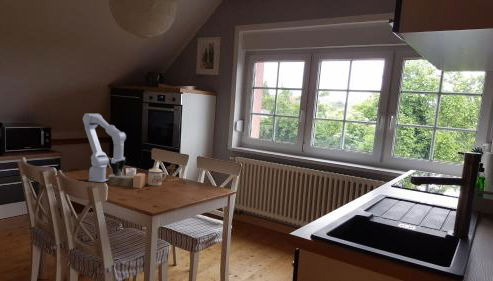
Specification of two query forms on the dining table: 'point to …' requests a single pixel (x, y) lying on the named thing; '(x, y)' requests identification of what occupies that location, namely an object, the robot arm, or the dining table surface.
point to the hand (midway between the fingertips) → (117, 172)
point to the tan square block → (139, 180)
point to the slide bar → (119, 175)
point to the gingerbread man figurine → (172, 175)
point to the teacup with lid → (155, 176)
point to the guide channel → (121, 182)
